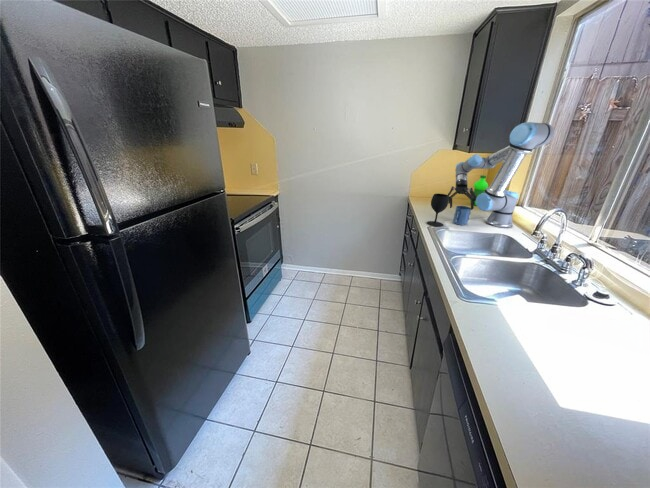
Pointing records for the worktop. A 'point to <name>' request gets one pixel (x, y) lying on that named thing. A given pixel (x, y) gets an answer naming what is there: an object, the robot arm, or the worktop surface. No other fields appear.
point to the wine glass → (438, 207)
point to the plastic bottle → (480, 186)
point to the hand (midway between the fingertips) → (461, 208)
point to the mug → (461, 215)
